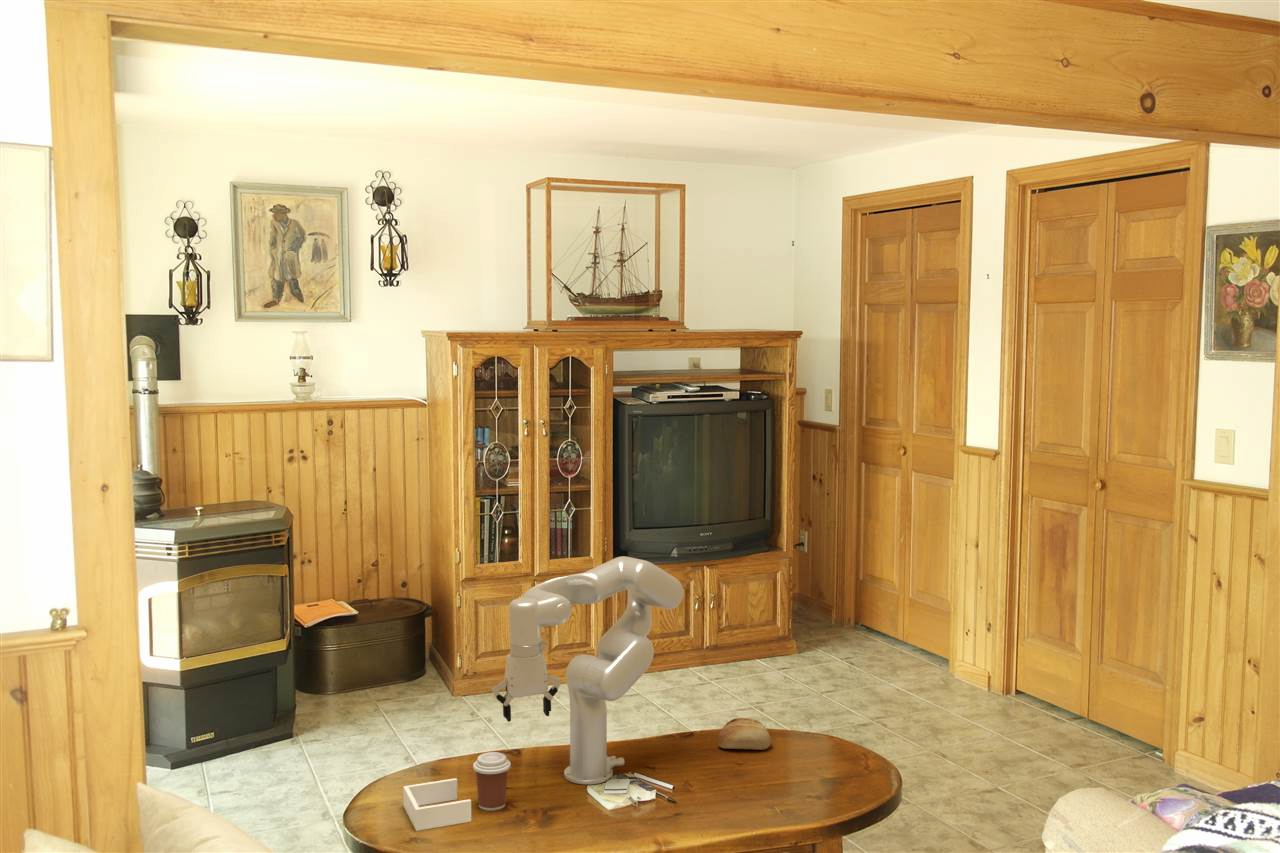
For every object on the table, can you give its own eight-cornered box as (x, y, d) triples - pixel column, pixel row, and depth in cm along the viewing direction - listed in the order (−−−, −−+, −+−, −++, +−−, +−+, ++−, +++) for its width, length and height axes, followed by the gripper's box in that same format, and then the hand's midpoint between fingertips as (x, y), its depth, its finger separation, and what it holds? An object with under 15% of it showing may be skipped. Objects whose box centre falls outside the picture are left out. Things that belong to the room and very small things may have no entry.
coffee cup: (496, 816, 262) (495, 767, 261) (465, 808, 267) (465, 759, 266) (518, 802, 270) (518, 754, 269) (488, 794, 275) (488, 747, 274)
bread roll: (714, 742, 311) (715, 714, 311) (767, 741, 312) (767, 713, 312) (719, 755, 302) (720, 726, 301) (773, 753, 303) (774, 725, 302)
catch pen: (456, 797, 272) (456, 778, 272) (471, 821, 259) (471, 800, 259) (403, 806, 267) (403, 786, 267) (416, 830, 254) (415, 809, 254)
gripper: (555, 641, 276) (557, 707, 277) (487, 649, 270) (489, 716, 272) (564, 649, 269) (565, 717, 270) (494, 657, 263) (496, 727, 265)
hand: (527, 717), depth 271 cm, fingers open, 9 cm apart
